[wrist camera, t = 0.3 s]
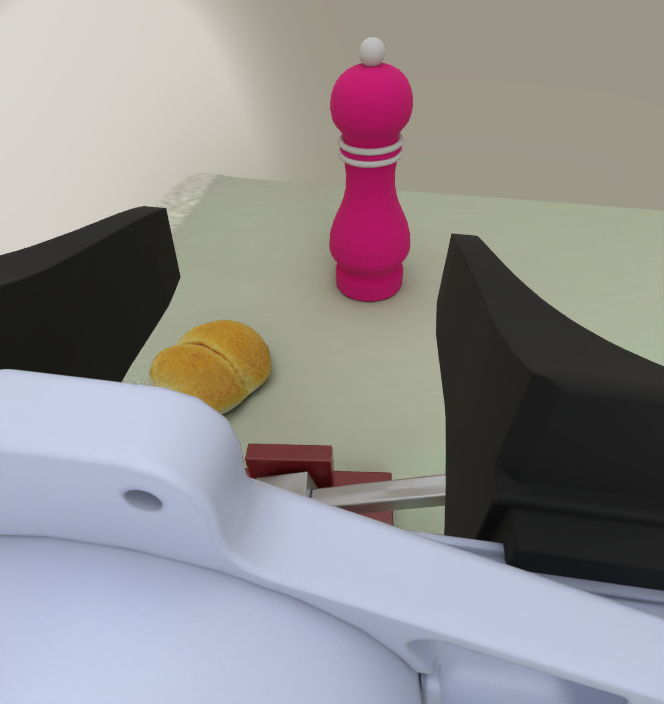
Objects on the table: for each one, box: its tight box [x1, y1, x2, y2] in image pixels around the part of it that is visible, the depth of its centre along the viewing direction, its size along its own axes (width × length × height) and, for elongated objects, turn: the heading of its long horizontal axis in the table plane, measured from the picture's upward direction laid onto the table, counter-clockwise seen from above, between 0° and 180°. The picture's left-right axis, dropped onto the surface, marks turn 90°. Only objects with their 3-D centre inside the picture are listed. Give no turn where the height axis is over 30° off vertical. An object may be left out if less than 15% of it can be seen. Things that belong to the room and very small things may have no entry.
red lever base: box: [245, 444, 393, 526], centre depth 25 cm, size 11×9×7 cm
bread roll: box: [150, 320, 271, 414], centre depth 36 cm, size 8×9×4 cm
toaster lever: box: [257, 472, 446, 514], centre depth 23 cm, size 11×5×2 cm, turn 87°
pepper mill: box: [329, 37, 413, 302], centre depth 39 cm, size 7×7×20 cm
